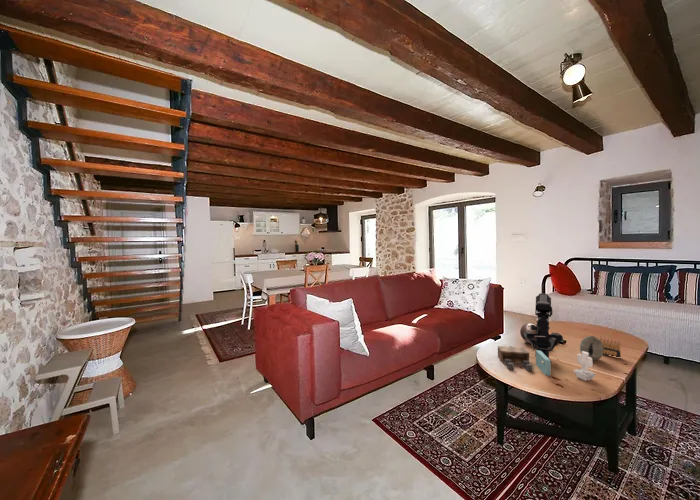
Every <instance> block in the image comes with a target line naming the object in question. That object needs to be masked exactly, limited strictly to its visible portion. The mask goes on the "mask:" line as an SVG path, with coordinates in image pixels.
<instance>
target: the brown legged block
mask: <svg viewBox="0 0 700 500" xmlns="http://www.w3.org/2000/svg"><path fill="white" fill-rule="evenodd" d="M497 359H498V360H499V361H500V362H501V363H504V365H505V366H506V369H507V370H512V371H513V370H514V369H515V368H514V367H515V364H521V365H522V367H523V368H524V369H525V370H526V371H527V372H533V369H534V367H533V364H530V352H529V351H528V350H527V348H525V347H519V346H517V347H514V346H501V345H498V346H497Z"/></svg>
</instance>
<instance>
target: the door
mask: <svg viewBox="0 0 700 500" xmlns="http://www.w3.org/2000/svg"><path fill="white" fill-rule="evenodd" d="M535 350H536V349H535ZM551 362H552V360H551V359H550V357H549V358H548V357H547V356H546V355H545V354H544V353H543V352H542V351H538V350H536V356H535V365H536V366H537V367H538V369H539V370H540V371H541V372H542V373H543V374H544V375H545V376H548V377H549V376H551V368H552V367H551V365H552V364H551Z"/></svg>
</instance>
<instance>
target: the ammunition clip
mask: <svg viewBox="0 0 700 500" xmlns="http://www.w3.org/2000/svg"><path fill="white" fill-rule="evenodd" d="M599 340H600V341H601V343H602V344H603V348H604V353H603V354H605V355H611V356H616V357H621V340H620V339H618V340H617V339H616V338H615V339H614V341H613V338H610V339H609V337H607V338H606V336H603V337H602V336H600V337H599ZM605 355H604V356H605Z"/></svg>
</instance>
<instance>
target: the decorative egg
mask: <svg viewBox="0 0 700 500" xmlns="http://www.w3.org/2000/svg"><path fill="white" fill-rule="evenodd" d="M579 351H580V354H582V351H585V352H588V353H589V355H588V357H591V358H592V360H593V361H597V360H600V359H601V358H602V357H603V356H604V355H603V353H604V348H603V342H602V343H601V341H600V338H598V337H596V336H594V335H587V336H585V337H584V338H582V339H581V341H580V344H579Z"/></svg>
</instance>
